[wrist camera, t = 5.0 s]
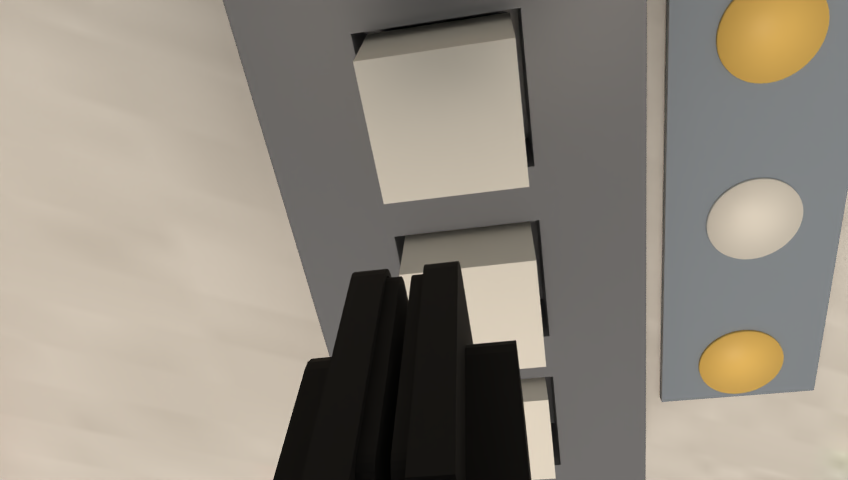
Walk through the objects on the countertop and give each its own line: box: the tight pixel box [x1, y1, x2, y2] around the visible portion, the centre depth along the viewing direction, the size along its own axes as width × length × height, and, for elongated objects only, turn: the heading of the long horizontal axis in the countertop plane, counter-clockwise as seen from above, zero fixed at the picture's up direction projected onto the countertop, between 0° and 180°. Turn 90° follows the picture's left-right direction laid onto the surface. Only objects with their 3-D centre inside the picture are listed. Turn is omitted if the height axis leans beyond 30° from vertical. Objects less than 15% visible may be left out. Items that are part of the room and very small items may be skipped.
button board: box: [223, 0, 647, 480], centre depth 26 cm, size 23×12×3 cm, turn 9°
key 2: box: [353, 12, 529, 204], centre depth 20 cm, size 4×4×3 cm
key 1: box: [521, 377, 556, 480], centre depth 28 cm, size 4×4×3 cm
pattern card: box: [660, 0, 848, 402], centre depth 25 cm, size 18×6×1 cm, turn 9°
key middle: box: [399, 221, 546, 369], centre depth 24 cm, size 4×4×3 cm
